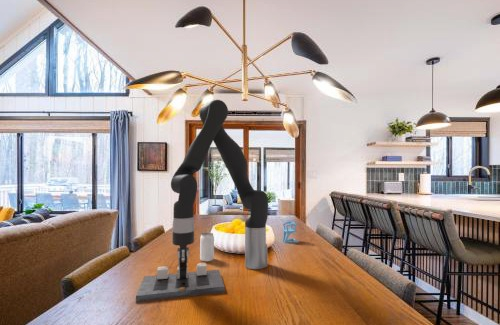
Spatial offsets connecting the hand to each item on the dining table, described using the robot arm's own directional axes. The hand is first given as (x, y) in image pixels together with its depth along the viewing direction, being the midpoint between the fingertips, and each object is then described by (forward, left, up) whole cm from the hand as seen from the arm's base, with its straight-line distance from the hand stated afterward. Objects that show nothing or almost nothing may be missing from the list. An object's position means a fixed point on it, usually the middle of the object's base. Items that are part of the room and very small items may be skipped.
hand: (182, 279), depth 91 cm
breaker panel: (0, -1, -3) cm, 3 cm away
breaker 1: (+7, -5, 0) cm, 9 cm away
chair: (-62, -50, -3) cm, 79 cm away
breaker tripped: (0, -3, -1) cm, 3 cm away
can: (-11, -29, -3) cm, 31 cm away
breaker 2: (-7, -5, -1) cm, 8 cm away
